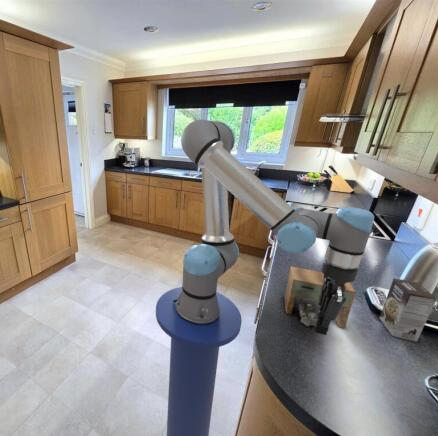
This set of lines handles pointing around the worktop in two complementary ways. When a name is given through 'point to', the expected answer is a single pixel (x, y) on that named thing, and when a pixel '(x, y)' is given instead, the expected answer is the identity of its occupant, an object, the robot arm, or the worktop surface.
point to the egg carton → (308, 313)
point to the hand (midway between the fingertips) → (320, 332)
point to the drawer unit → (314, 291)
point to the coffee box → (406, 309)
